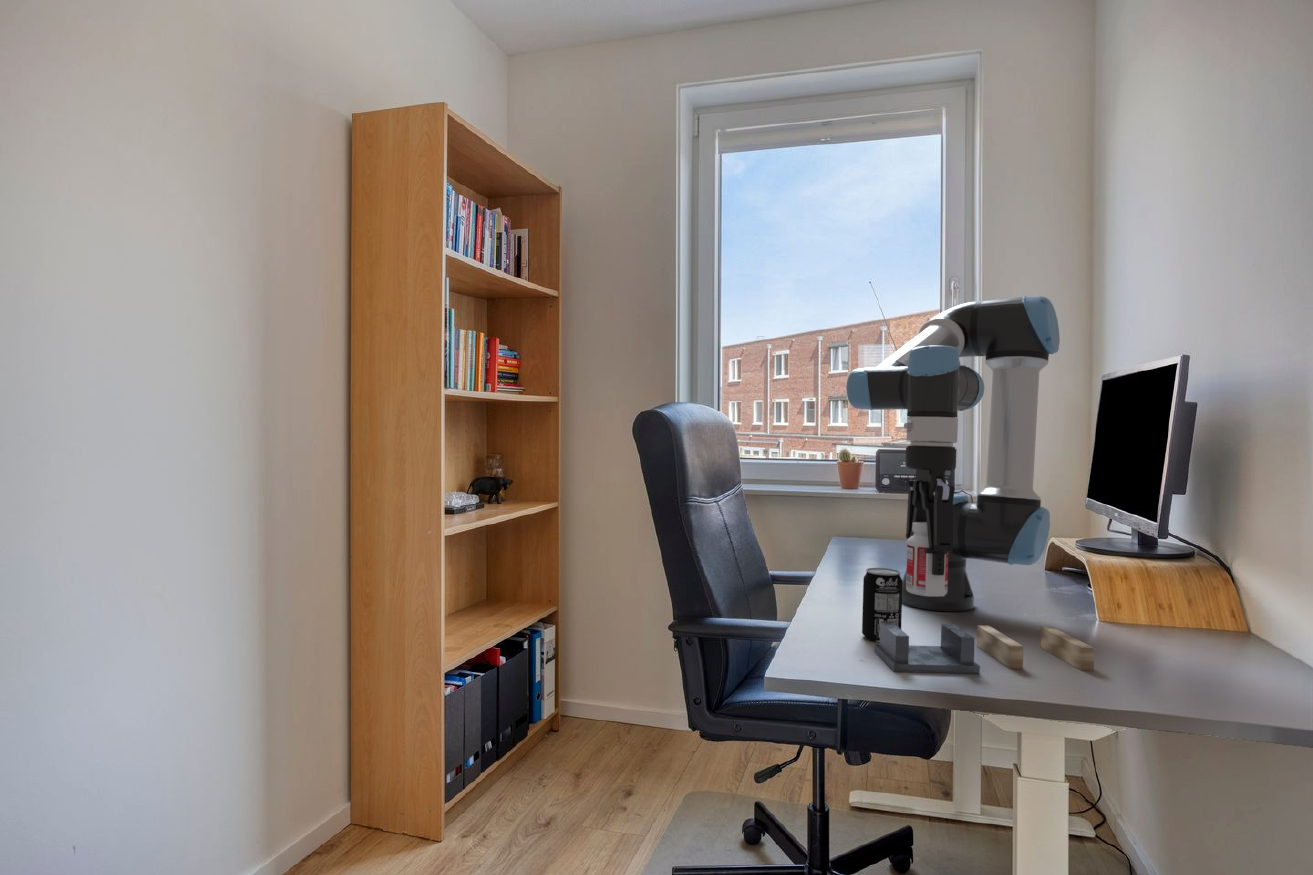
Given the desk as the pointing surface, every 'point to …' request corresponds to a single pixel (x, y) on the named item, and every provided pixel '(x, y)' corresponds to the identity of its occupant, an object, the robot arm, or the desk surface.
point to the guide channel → (1050, 641)
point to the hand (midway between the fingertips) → (926, 590)
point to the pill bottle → (919, 560)
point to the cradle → (927, 651)
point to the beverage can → (881, 600)
